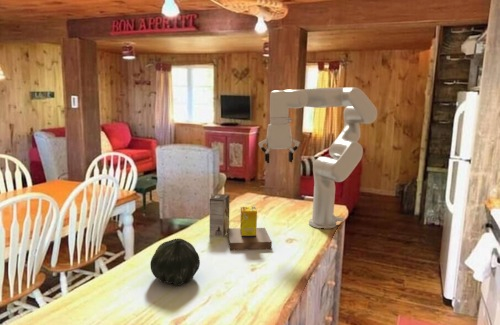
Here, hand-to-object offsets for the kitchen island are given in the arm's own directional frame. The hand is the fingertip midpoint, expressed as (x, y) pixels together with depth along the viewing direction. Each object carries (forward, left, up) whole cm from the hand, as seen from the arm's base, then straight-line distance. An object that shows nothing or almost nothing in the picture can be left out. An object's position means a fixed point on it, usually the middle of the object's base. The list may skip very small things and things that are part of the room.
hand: (279, 162), depth 163 cm
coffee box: (+24, -1, -31) cm, 40 cm away
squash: (+40, +40, -31) cm, 65 cm away
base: (+13, +10, -31) cm, 35 cm away
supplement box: (+14, +10, -28) cm, 33 cm away
